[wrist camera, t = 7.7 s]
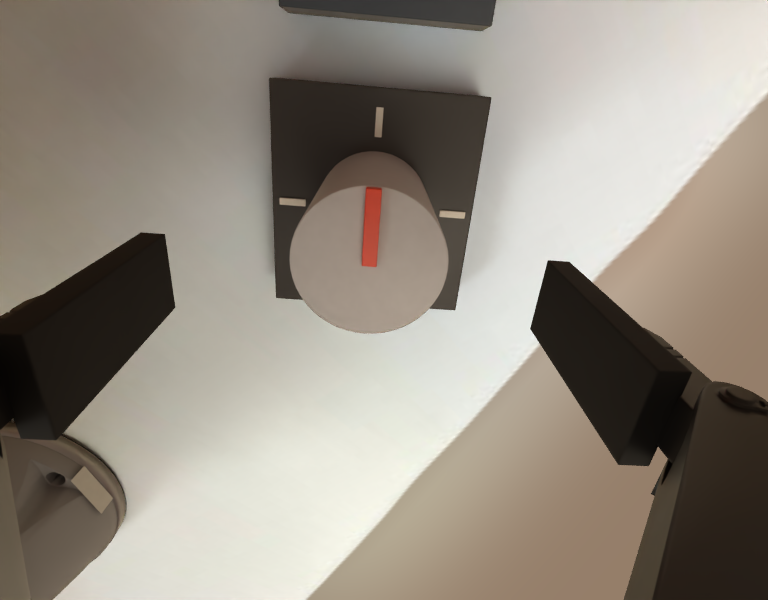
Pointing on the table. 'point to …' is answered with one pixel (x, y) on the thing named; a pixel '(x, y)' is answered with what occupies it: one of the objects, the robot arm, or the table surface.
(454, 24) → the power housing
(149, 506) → the table surface
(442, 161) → the panel
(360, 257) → the timer dial
